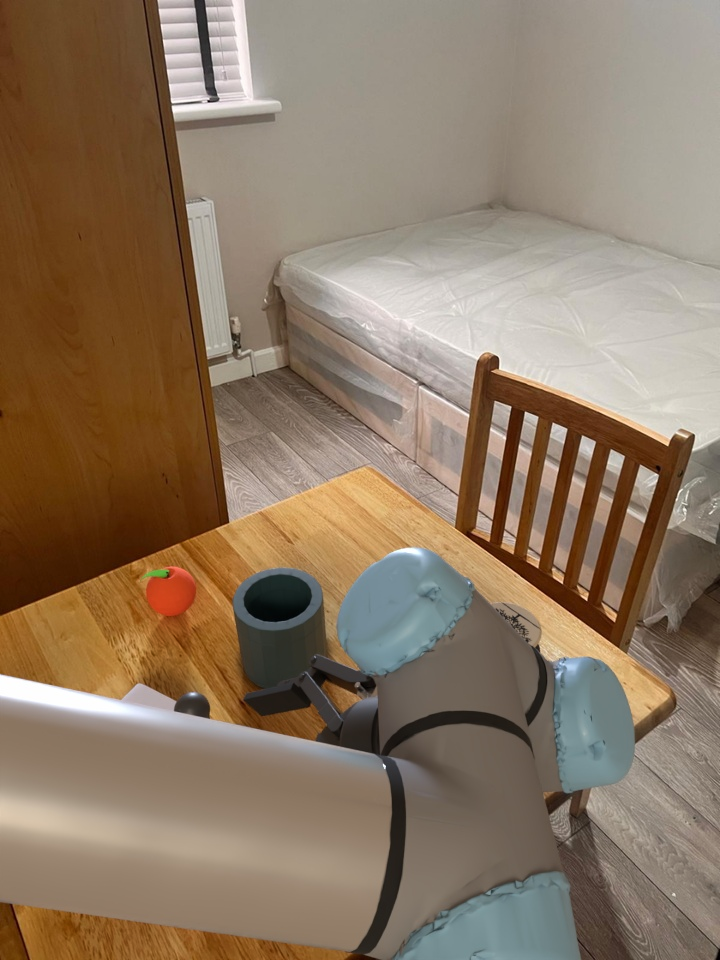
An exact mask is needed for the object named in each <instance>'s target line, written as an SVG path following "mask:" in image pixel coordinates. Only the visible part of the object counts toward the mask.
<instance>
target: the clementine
mask: <svg viewBox="0 0 720 960" xmlns="http://www.w3.org/2000/svg"><path fill="white" fill-rule="evenodd" d="M148 577H150V578H149V579H148V581H147V585H146V587H145V597H146V600H147V603H148V604H149V606H150V608H152V610H154V611H155V613H157V614H160V615H162V616H166V617H174V616H179V615H181V614H183V613H185V612H186V611H188V610H189V608H190V607H191V606H192V605H193V603H194V601H195V599H196V596H197V586H196V585H197V584H196V581H195V578H193V576H192V575H191V574H190V572H188V571H187V570H186V569H183V568H181V567H179V566H166V567H163V568H162V567H161V568H160V569H155V570H151V571H149V572H147V573H145V574H144V575H143V576H142V577H141V579H140V581H139V584H141V581H142V580H143V579H144V578H148Z"/></svg>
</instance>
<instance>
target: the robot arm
mask: <svg viewBox="0 0 720 960" xmlns="http://www.w3.org/2000/svg"><path fill="white" fill-rule="evenodd" d="M336 636H337V637H336V638H337V640H338V642H339V644H340V647H341V648H342V650H343V652H344V653H345V654H346V655H347V656H348V657H349V658H350V659H351V661H353V662H354V663H355V664H356V668H358V670H357V669H355V668H352V667H350V666H348V665H345V664H344V663H343V664H342V663H340V662H337V661H335V660H333V659H330V658H328V657H327V658H326V657H323V656H321V655H318V654H315V655H313V656H312V657H311V658H310V660H309V665H310V666H311V667H310V668H309V670H308V671H307V672H302V673H301V674H300V675H299V676H298V677H296V678H292V679H288V680H283V681H281V682H280V683H278V685H277V686H276V687H272V688H267V689H264V688H262V689H259V690H254V691H250V692H246V693H245V695H244V697H243V699H242V701H243V702H245V703H246V704H247V705H248V706H249V707H250V708H251V709H252V710H254V712H256V713H257V714H258V715H259V716H260V717H267V716H272V715H277V714H282V713H288V712H293V711H298V710H303V709H308V708H311V705H313V706H314V707H315V709H316V711H317V714H318V715H319V716H320V718H321V719H322V721H323V722H324V723H325V725H326V726H325V727H324V728H323V729H322V731H321V732H318V733H317V735H316V738H315V740H311V739H307V738H301V737H296V736H291V735H287V734H284V733H283V734H281V733H278V732H273V731H268V730H263V729H258V728H253V727H250V726H246V725H240V724H235V723H231V722H225V721H221V720H218V719H212V718H210V719H208V718H203V717H198V716H194V715H189V714H184V713H180V712H175V711H170V710H165V709H161V708H156V707H151V706H147V705H142V704H137V703H133V702H128V701H123V700H121V699H118V698H114V697H109V696H104V695H100V694H94V693H90V692H86V691H80V690H75V689H71V688H67V687H63V686H57V685H52V684H48V683H44V682H43V683H42V682H38V681H33V680H29V679H26V678H25V679H24V678H20V677H15V676H10V675H5V674H1V673H0V903H4V904H10V905H12V904H13V905H18V906H25V907H33V908H38V909H39V908H41V909H47V910H52V911H53V910H54V911H60V912H66V913H67V912H68V913H75V914H82V915H89V916H94V917H100V918H101V917H103V918H109V919H116V920H123V921H130V922H137V923H145V924H151V925H158V926H165V927H172V928H177V929H178V928H179V929H185V930H186V929H187V930H192V931H200V932H207V933H215V934H220V935H227V936H235V937H242V938H248V939H255V940H261V941H268V942H269V941H270V942H276V943H283V944H289V945H296V946H297V945H298V946H304V947H311V948H319V949H323V950H324V949H326V950H332V951H339V952H345V953H349V954H354V955H355V954H356V955H364V956H368V957H371V958H374V959H378V960H582V956H581V952H580V948H579V943H578V936H577V929H576V925H575V924H576V923H575V919H574V913H573V907H572V906H573V905H572V901H571V883H570V881H569V879H568V876H567V875H566V874H565V873H564V868H563V865H562V861H561V857H560V854H559V849H558V845H557V841H556V838H555V834H554V831H553V826H552V823H551V818H550V814H549V811H548V807H547V803H546V799H545V795H544V793H555V792H557V793H558V792H563V793H565V794H573V793H574V792H576V791H582V790H588V789H594V788H599V787H604V786H605V787H606V786H612V785H615V784H618V783H619V782H621V781H622V780H623V779H624V778H626V776H627V775H628V774H629V772H630V771H631V768H632V766H633V762H634V758H635V753H636V739H635V738H636V737H635V734H636V733H635V724H634V719H633V713H632V711H631V705H630V702H629V700H628V697H627V694H626V692H625V690H624V687H623V685H622V684H621V681H620V680H619V678H618V676H617V675H616V673H615V672H614V670H613V669H612V668H611V667H610V666H609V665H608V664H606V662H604V661H603V660H602V659H600V658H594V657H591V656H578V657H569V656H563V657H561V658H558V659H556V660H554V661H553V660H547V658H546V657H545V656H544V655H543V653H541V651H540V652H539V651H538V650H537V649H536V648H534V647H533V646H532V645H530V644H529V643H527V642H526V641H525V640H524V639H523V638H522V636H521V635H520V634H519V633H518V632H517V631H516V630H515V629H514V628H513V627H512V626H511V625H510V624H509V623H508V622H507V621H506V620H505V619H504V618H503V617H502V616H501V615H500V614H499V612H498V611H497V610H496V609H495V608H494V607H493V606H492V605H491V604H490V602H489V601H488V600H487V599H486V598H485V596H483V594H481V592H480V591H479V590H478V589H477V588H476V587H475V583H474V582H473V581H472V580H471V579H470V578H469V577H468V576H463V575H462V574H461V573H460V572H459V571H458V570H456V569H455V568H454V567H453V566H452V565H451V564H450V563H448V561H446V560H445V559H444V558H443V557H442V556H440V555H439V554H437V553H436V552H435V551H433V550H431V549H429V548H424V547H415V546H413V547H412V546H411V547H404V548H400V549H396V550H394V551H392V552H389V553H387V555H385V556H384V557H383V558H381V559H380V560H378V561H376V562H372V564H370V565H369V566H368V567H367V568H366V569H365V570H363V572H361V574H360V575H359V576H358V577H357V578H356V580H355V581H354V582H353V583H352V585H351V586H350V588H349V589H348V591H347V593H346V594H345V596H344V598H343V600H342V602H341V604H340V608H339V611H338V613H337V619H336ZM325 682H327V683H330V684H332V685H334V686H336V687H338V688H341V689H343V690H345V691H348V692H350V693H351V694H353V695H356V696H357V697H359V698H360V700H358V701H356V702H354V703H353V704H351V706H350V707H348V708H347V709H346V710H344V711H342V710H341V709H340V707H339V706H338V705H337V704H336V702H335V701H334V700H333V699H332V697H331V696H330V695H329V692H328V691H327V690H326V689H325V688H324V687H323V685H324V683H325Z"/></svg>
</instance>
